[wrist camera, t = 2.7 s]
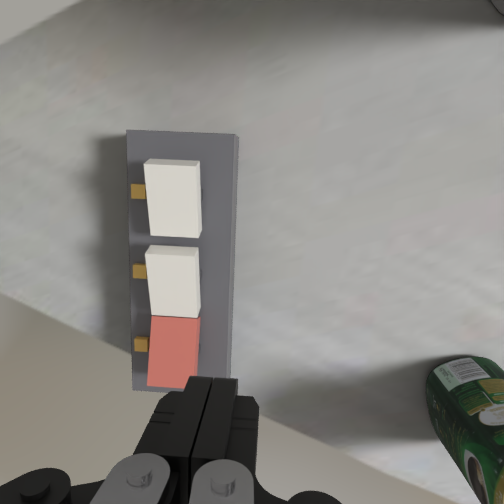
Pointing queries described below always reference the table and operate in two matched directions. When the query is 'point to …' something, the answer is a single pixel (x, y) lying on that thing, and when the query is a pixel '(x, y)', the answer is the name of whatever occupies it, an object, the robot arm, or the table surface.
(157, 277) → the block
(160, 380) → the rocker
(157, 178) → the rocker
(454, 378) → the coffee jar
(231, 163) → the switch panel
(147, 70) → the table surface
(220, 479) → the robot arm
